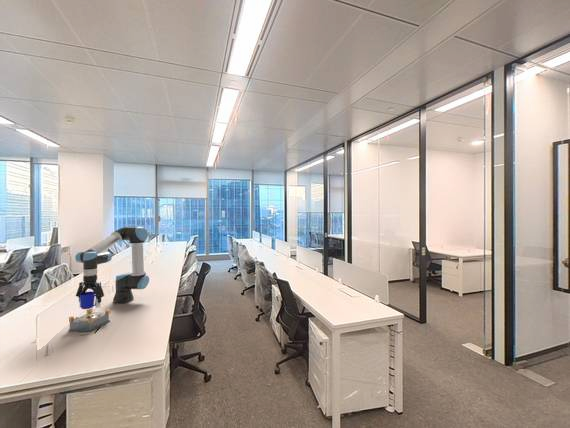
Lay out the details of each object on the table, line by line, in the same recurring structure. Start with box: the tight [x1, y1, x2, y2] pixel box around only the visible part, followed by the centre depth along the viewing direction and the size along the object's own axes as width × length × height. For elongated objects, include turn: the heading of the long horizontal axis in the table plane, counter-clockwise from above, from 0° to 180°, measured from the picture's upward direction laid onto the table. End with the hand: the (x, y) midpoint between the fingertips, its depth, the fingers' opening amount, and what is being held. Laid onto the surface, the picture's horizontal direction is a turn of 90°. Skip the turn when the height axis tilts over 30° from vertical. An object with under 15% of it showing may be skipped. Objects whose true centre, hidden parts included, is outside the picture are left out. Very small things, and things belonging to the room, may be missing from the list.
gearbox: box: [68, 308, 111, 334], centre depth 174 cm, size 17×18×8 cm
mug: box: [79, 290, 97, 310], centre depth 174 cm, size 8×12×10 cm
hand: (90, 307), depth 174 cm, fingers closed on mug, 11 cm apart
